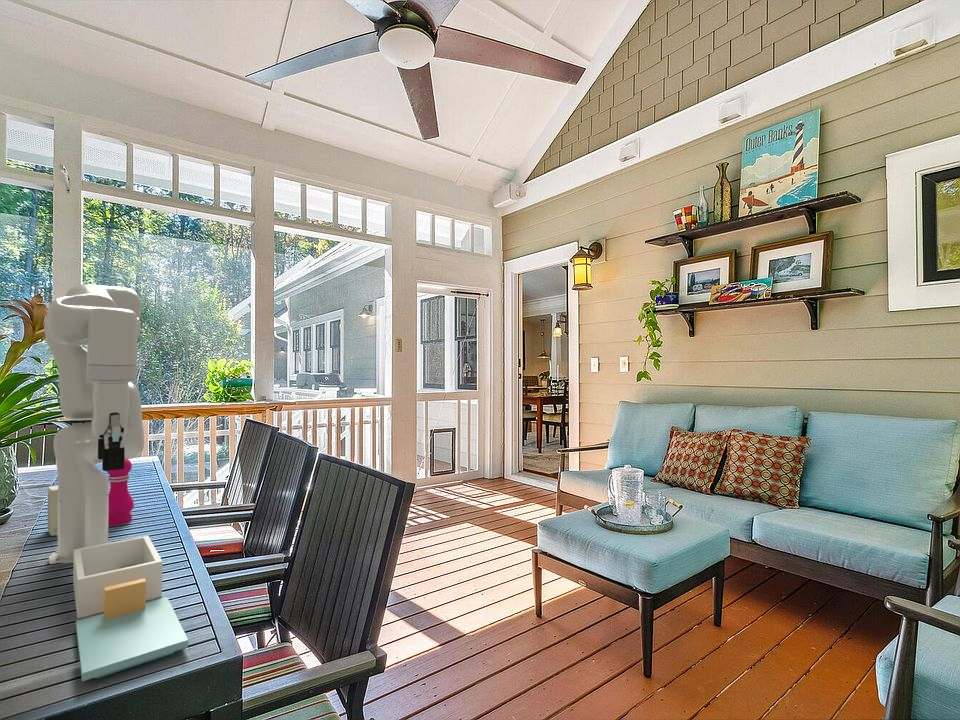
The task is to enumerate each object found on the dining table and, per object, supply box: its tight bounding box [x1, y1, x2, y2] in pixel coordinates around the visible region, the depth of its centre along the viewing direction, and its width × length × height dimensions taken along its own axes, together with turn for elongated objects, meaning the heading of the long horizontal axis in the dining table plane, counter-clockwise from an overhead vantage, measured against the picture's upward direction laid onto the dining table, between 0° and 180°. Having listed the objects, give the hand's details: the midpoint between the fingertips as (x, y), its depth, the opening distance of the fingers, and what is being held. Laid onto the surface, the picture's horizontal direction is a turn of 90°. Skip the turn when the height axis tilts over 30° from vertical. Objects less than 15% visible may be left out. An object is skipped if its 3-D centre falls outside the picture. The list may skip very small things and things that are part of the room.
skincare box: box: [47, 485, 58, 537], centre depth 135 cm, size 6×4×12 cm
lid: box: [75, 578, 189, 682], centre depth 84 cm, size 19×14×8 cm
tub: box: [72, 535, 163, 620], centre depth 101 cm, size 18×13×8 cm
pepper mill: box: [106, 459, 135, 527], centre depth 144 cm, size 7×7×20 cm
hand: (110, 463), depth 95 cm, fingers open, 9 cm apart
